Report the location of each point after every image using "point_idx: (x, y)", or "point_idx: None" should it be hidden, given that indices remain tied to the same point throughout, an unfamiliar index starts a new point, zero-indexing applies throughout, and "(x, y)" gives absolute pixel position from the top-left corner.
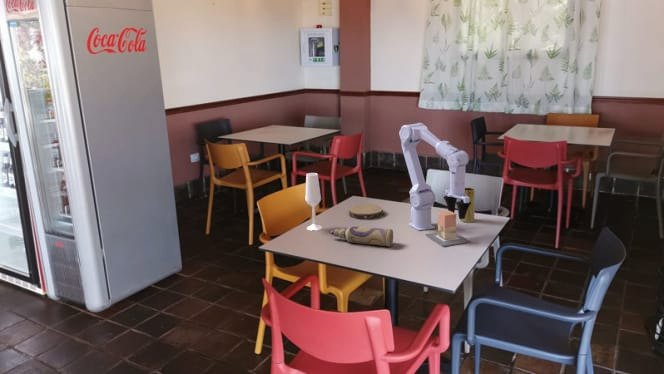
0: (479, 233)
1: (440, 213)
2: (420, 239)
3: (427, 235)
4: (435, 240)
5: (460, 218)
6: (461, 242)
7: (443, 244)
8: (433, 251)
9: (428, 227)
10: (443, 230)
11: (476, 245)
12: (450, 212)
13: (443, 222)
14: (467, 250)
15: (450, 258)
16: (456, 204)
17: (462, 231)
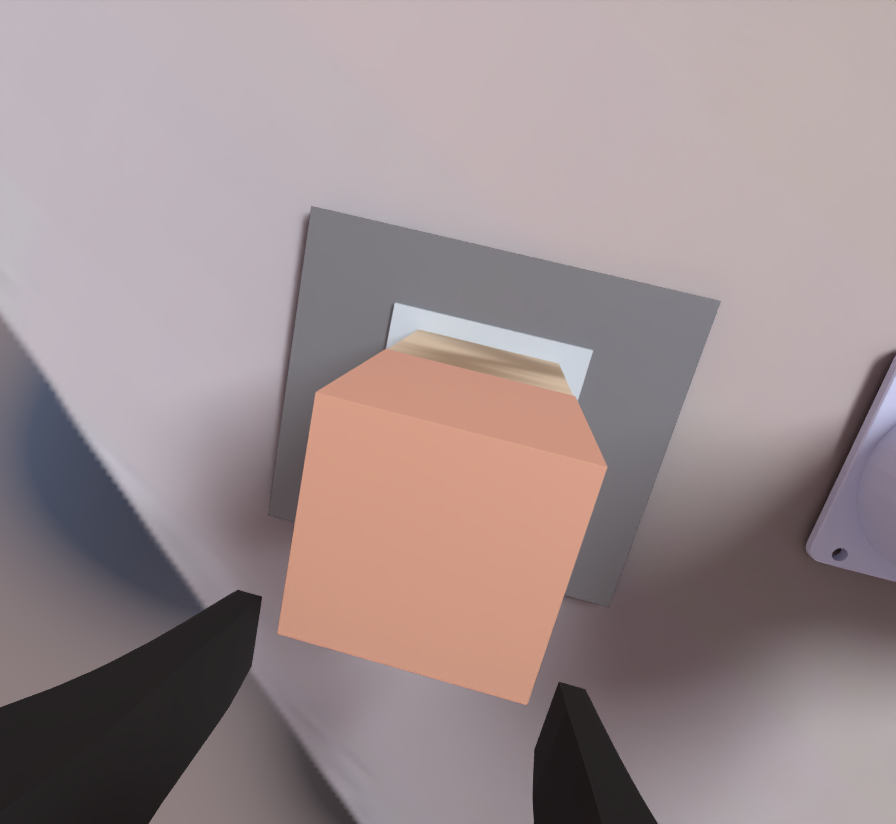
0: (407, 726)
1: (508, 441)
2: (661, 158)
3: (670, 290)
4: (483, 249)
5: (224, 601)
6: (284, 425)
7: (336, 233)
8: (272, 15)
9: (861, 490)
10: (427, 351)
11: (196, 494)
12: (420, 632)
13: (405, 372)
14: (136, 341)
15: (37, 39)
16: (19, 795)
17: (539, 670)
